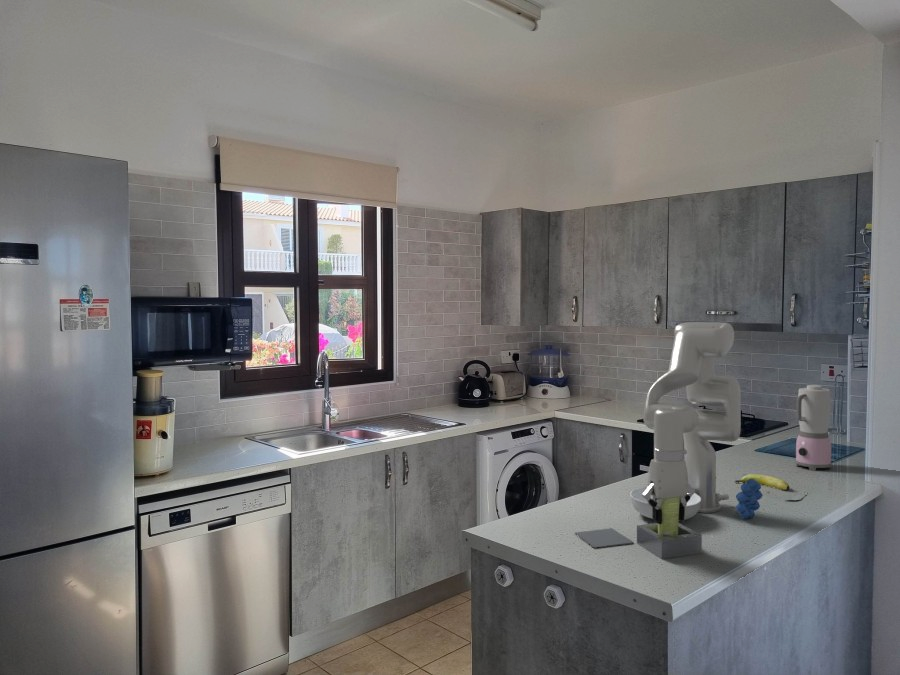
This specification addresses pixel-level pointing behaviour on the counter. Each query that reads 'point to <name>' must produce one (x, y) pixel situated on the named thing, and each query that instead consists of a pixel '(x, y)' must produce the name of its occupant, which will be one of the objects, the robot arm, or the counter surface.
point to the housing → (669, 541)
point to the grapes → (749, 499)
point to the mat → (604, 538)
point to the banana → (766, 481)
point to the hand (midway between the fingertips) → (668, 520)
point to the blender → (813, 427)
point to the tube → (669, 517)
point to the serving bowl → (646, 508)
